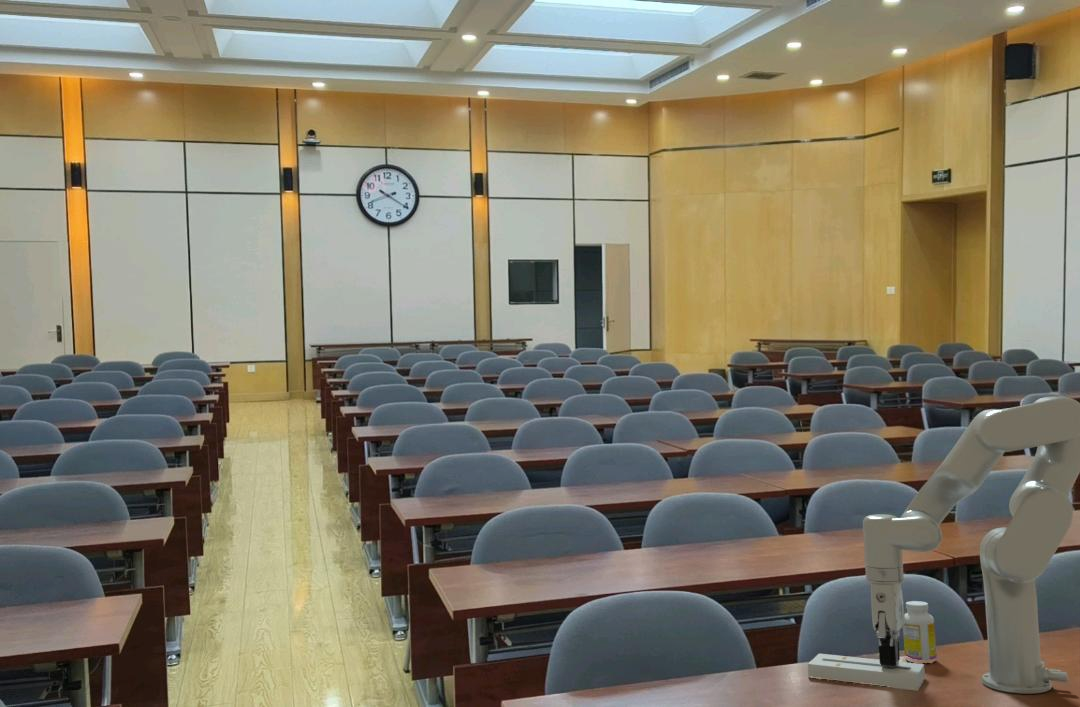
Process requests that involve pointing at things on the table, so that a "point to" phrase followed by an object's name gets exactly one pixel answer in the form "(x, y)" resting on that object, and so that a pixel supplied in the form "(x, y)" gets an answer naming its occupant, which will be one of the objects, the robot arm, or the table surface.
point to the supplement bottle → (919, 632)
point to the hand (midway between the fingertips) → (889, 661)
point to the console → (867, 671)
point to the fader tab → (895, 643)
